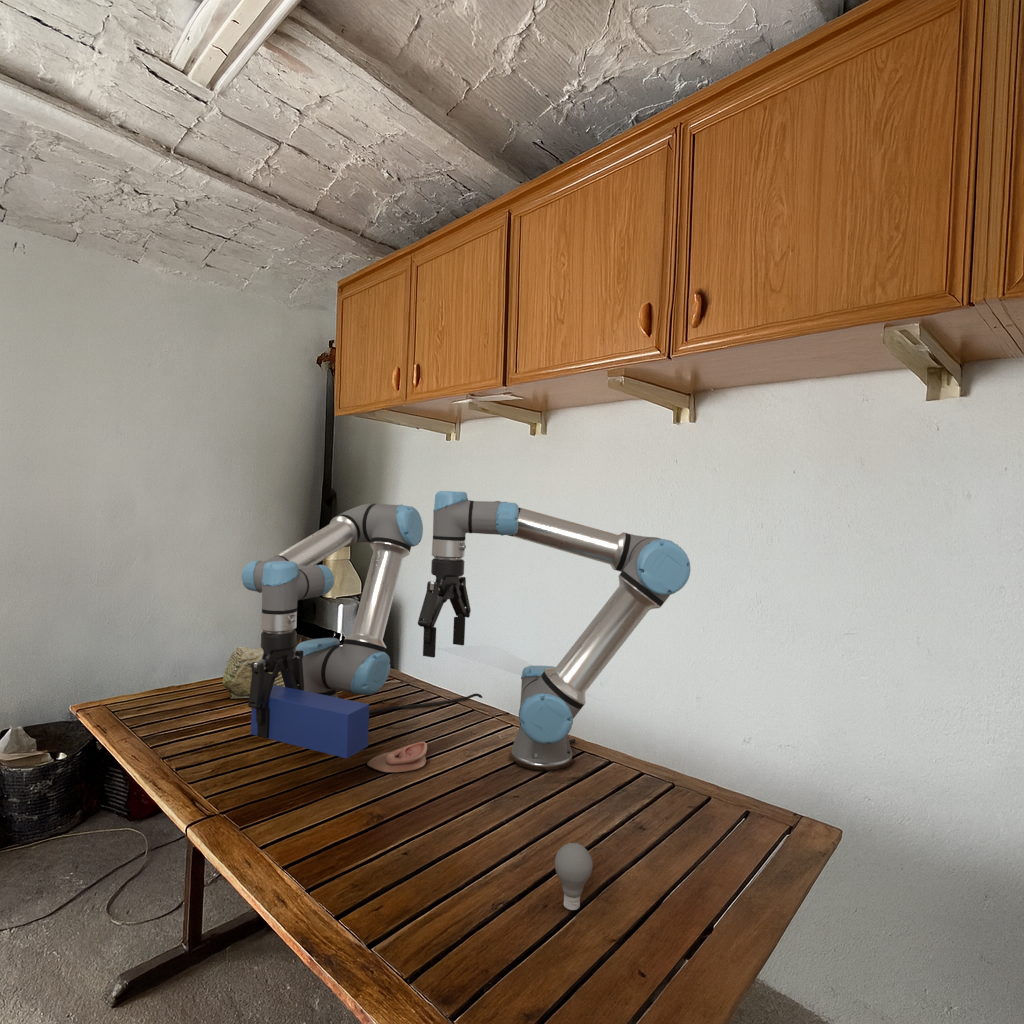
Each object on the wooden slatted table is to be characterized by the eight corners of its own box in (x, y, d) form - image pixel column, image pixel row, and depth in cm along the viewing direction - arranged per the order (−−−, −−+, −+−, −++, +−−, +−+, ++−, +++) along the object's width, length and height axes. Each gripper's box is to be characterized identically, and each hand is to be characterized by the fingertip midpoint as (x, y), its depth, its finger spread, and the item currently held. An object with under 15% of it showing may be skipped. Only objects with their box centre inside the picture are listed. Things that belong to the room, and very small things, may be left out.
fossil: (218, 695, 195) (220, 647, 195) (278, 685, 208) (279, 640, 207) (228, 703, 189) (230, 653, 188) (289, 692, 201) (290, 645, 201)
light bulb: (550, 895, 103) (552, 835, 103) (586, 895, 104) (589, 835, 104) (555, 920, 97) (558, 856, 97) (594, 919, 98) (597, 855, 98)
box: (250, 734, 142) (251, 693, 141) (274, 723, 148) (275, 684, 148) (346, 758, 131) (348, 714, 131) (368, 746, 138) (369, 704, 137)
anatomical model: (361, 752, 147) (381, 734, 159) (361, 769, 148) (381, 750, 159) (415, 759, 145) (432, 741, 156) (415, 776, 145) (431, 757, 156)
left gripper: (257, 641, 132) (254, 750, 133) (322, 624, 150) (320, 719, 151) (230, 637, 135) (228, 743, 136) (297, 620, 153) (295, 713, 154)
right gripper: (434, 563, 132) (430, 664, 133) (486, 556, 155) (483, 642, 156) (404, 560, 135) (400, 659, 136) (459, 553, 158) (456, 638, 159)
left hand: (276, 730), depth 143 cm, fingers closed on box, 7 cm apart
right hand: (444, 650), depth 146 cm, fingers open, 13 cm apart
